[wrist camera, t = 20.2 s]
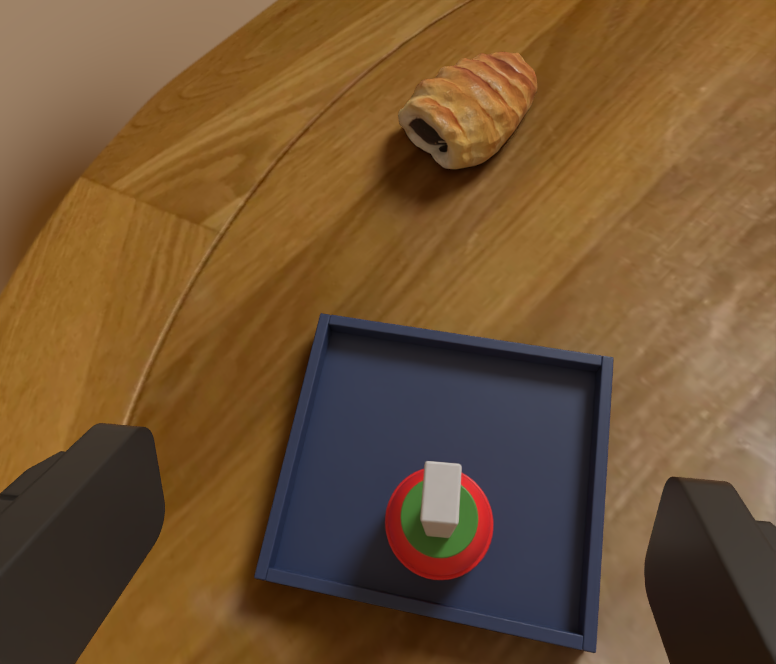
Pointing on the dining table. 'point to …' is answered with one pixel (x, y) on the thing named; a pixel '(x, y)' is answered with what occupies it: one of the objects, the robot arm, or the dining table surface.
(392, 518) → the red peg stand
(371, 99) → the dining table surface
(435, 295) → the dining table surface
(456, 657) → the dining table surface
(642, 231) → the dining table surface
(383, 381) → the tray
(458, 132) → the pastry
